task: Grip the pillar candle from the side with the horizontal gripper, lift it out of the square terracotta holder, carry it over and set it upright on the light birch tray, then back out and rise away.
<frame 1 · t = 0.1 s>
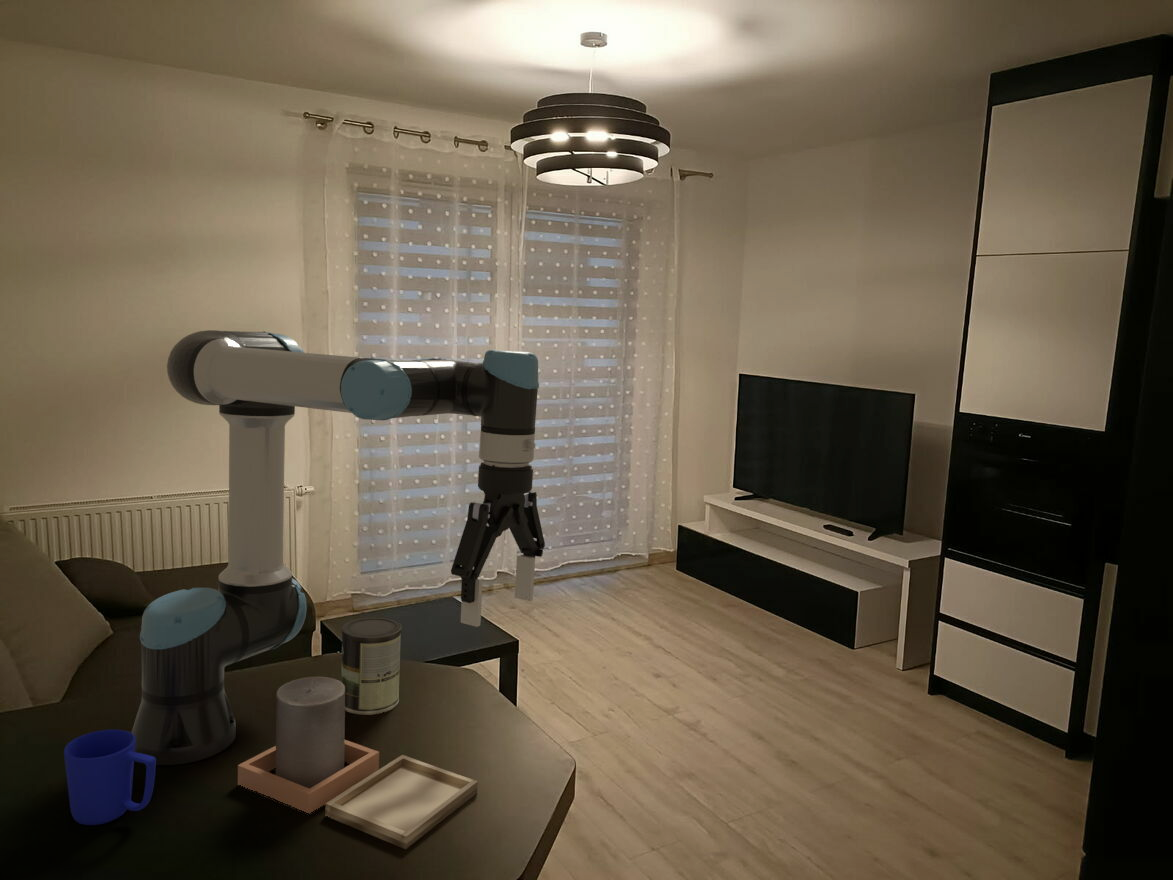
hand: (498, 611, 118), 28 cm above the table, tool pointing down, fingers open, 13 cm apart
pillar candle: (309, 779, 123), resting in holder
holder: (309, 777, 123), on the table
coffee can: (369, 703, 149), on the table
tray: (403, 804, 118), on the table
mug: (114, 817, 111), on the table
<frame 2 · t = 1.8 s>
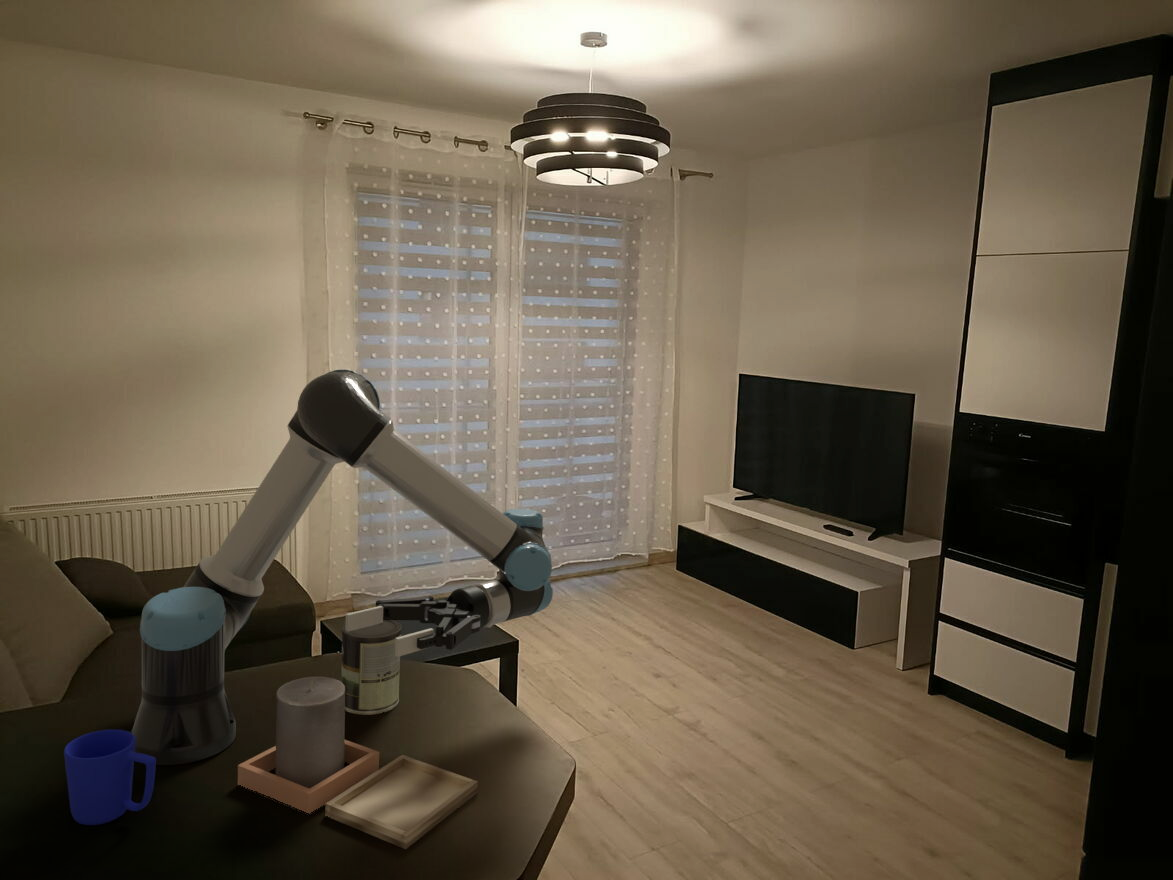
hand: (370, 634, 128), 20 cm above the table, tool horizontal, fingers open, 13 cm apart
nothing on the table moved.
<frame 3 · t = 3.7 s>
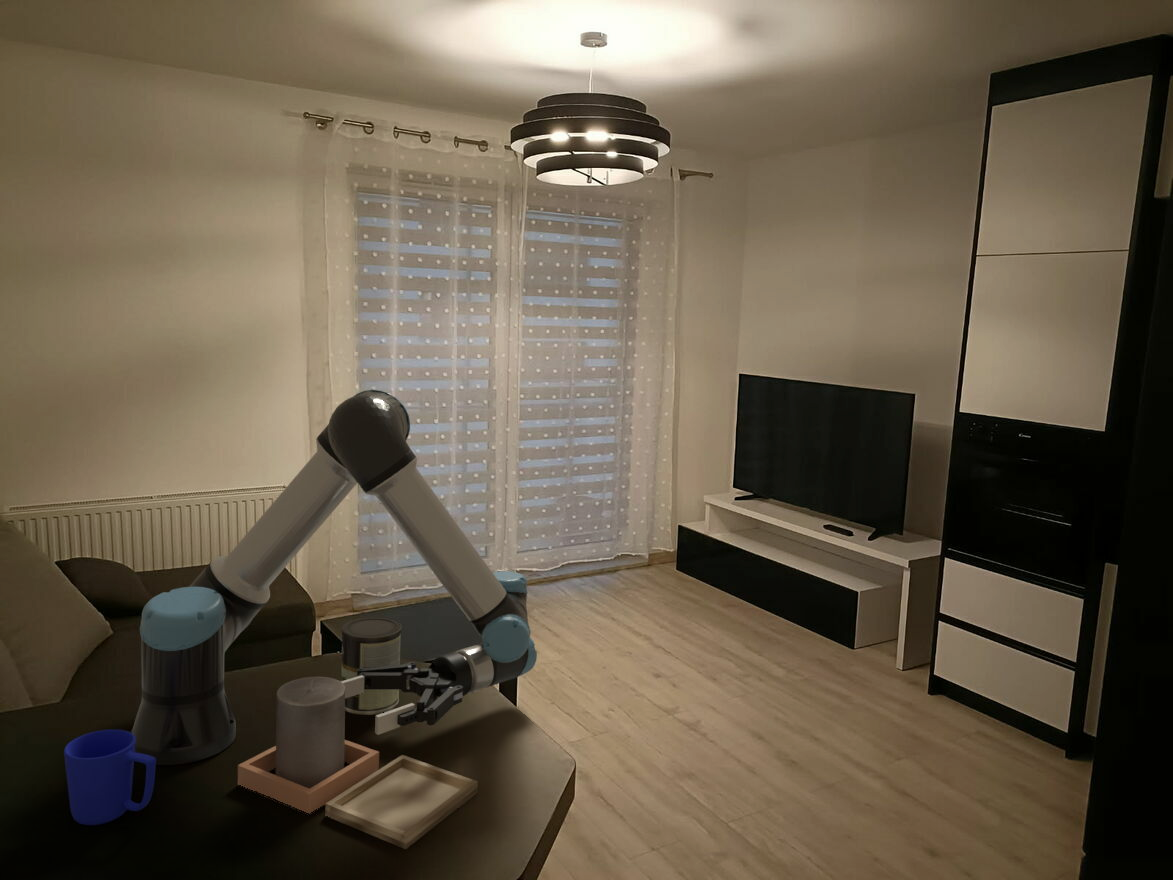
hand: (350, 709, 127), 9 cm above the table, tool horizontal, fingers open, 13 cm apart
nothing on the table moved.
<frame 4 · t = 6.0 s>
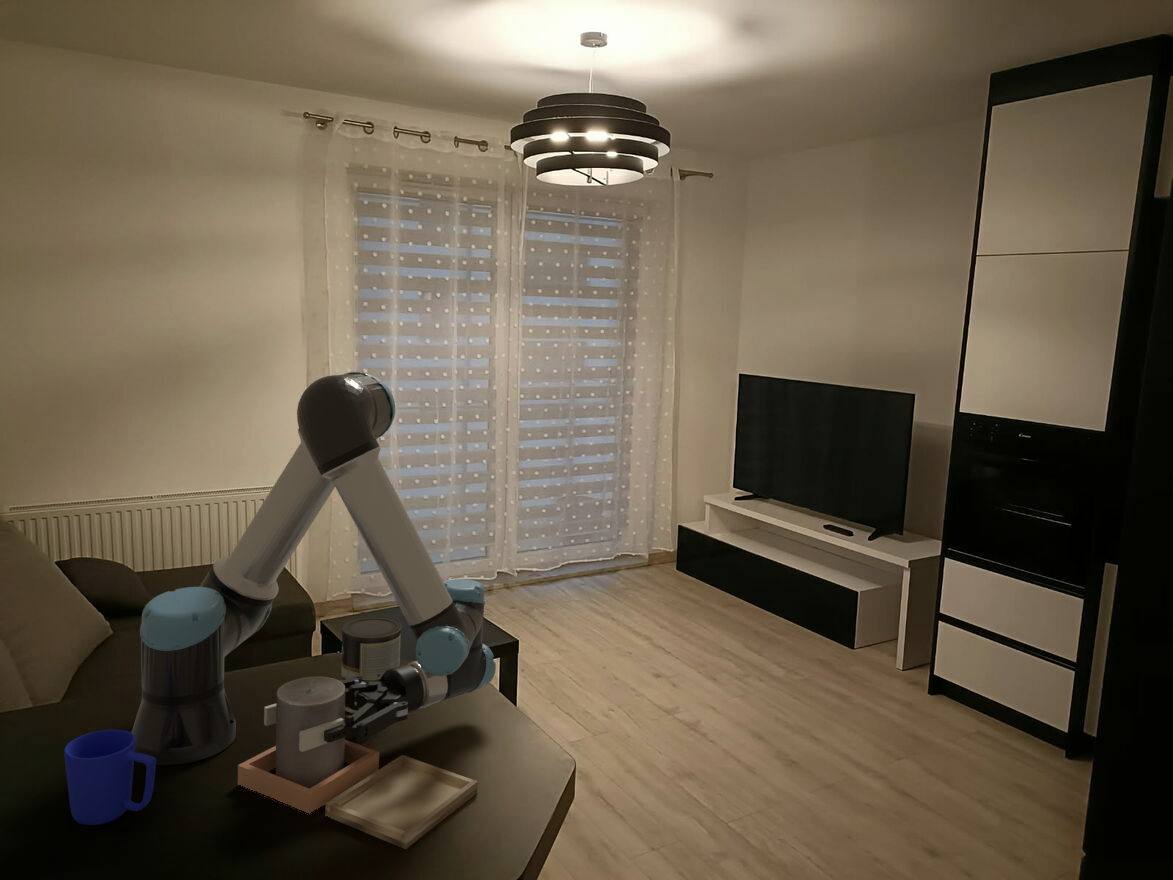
hand: (282, 728, 119), 9 cm above the table, tool horizontal, fingers closed on pillar candle, 9 cm apart
pillar candle: (309, 779, 123), resting in holder, touching gripper
everything else where it was.
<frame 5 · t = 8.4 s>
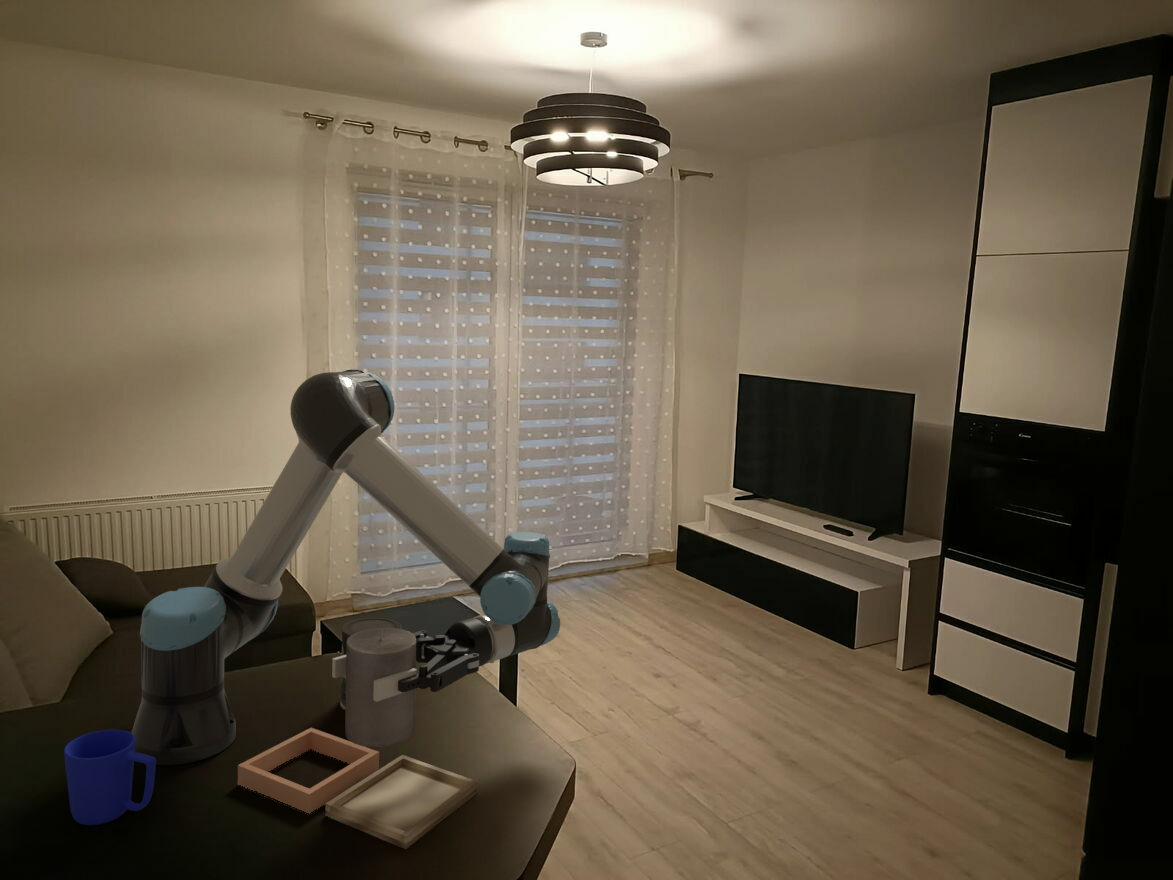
hand: (353, 679, 114), 19 cm above the table, tool horizontal, fingers closed on pillar candle, 9 cm apart
pillar candle: (380, 733, 119), point 9 cm above the table, touching gripper
everything else where it was.
when the fingers open (11 cm above the table, at t = 11.0 s): pillar candle drops 1 cm, resting on tray.
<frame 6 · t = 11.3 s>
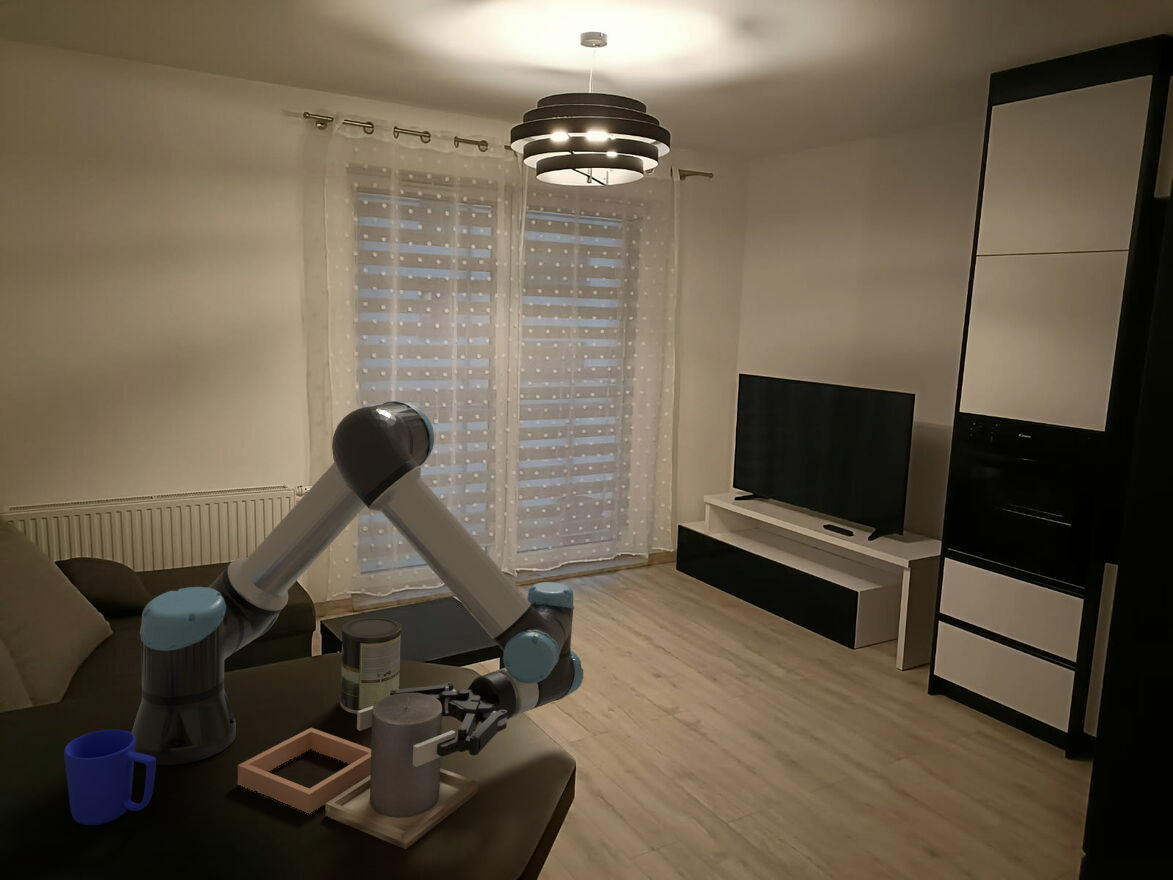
hand: (385, 738, 114), 11 cm above the table, tool horizontal, fingers open, 13 cm apart
pillar candle: (404, 800, 118), point 1 cm above the table, touching tray
everything else where it was.
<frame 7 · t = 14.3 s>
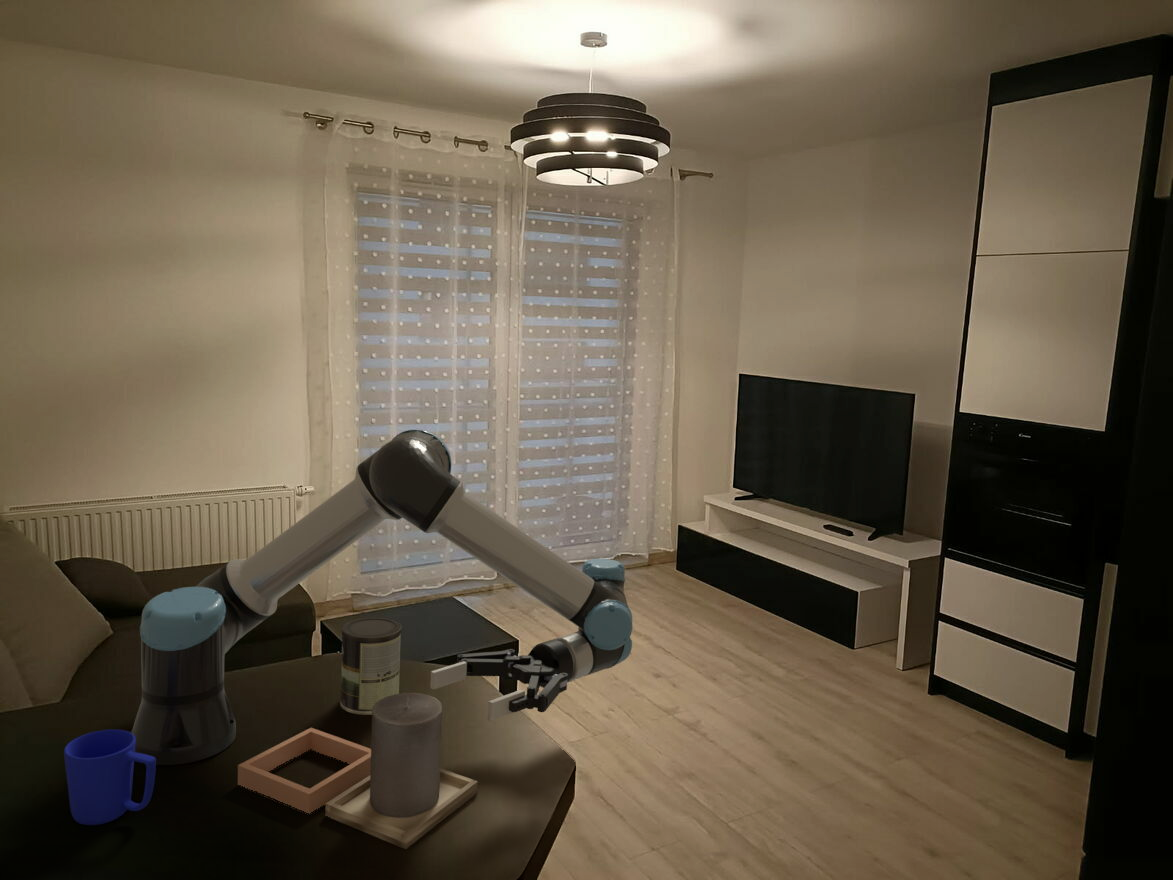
hand: (459, 695, 124), 13 cm above the table, tool horizontal, fingers open, 13 cm apart
nothing on the table moved.
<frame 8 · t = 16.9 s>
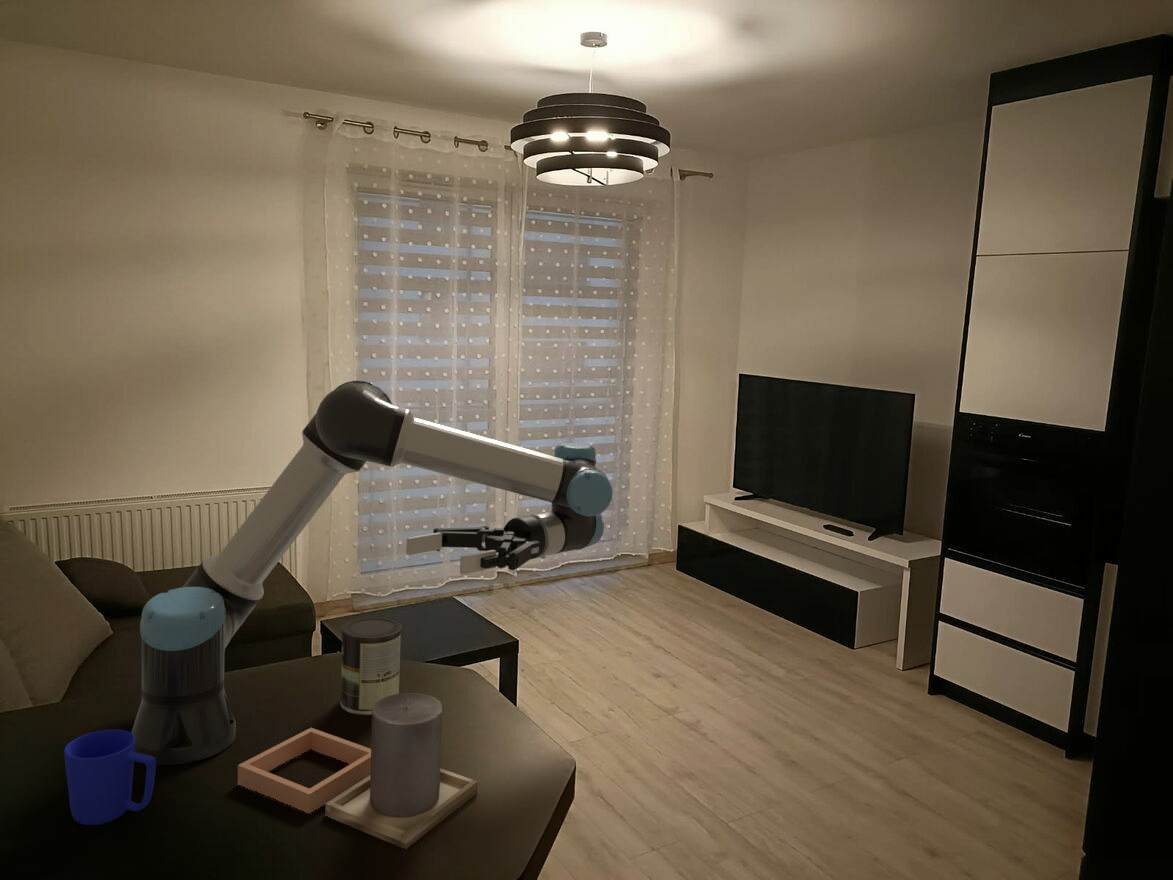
hand: (433, 555, 129), 32 cm above the table, tool horizontal, fingers open, 13 cm apart
nothing on the table moved.
at the end: pillar candle inside the target area on the tray (0.2 cm from its centre), point 0.6 cm above the tray's base; pillar candle tilted 0°; the gripper is holding nothing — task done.
